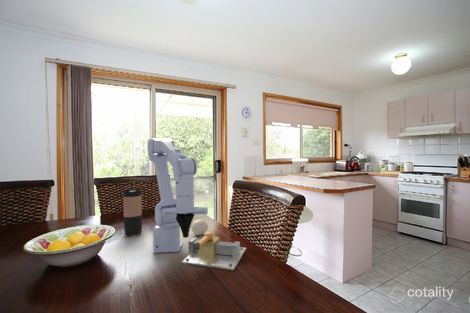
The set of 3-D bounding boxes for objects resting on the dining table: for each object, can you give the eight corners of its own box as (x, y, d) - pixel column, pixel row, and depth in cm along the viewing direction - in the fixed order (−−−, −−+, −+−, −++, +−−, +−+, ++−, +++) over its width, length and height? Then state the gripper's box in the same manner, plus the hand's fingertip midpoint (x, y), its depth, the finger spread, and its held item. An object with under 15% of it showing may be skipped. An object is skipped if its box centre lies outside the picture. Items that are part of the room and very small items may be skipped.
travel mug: (120, 235, 103) (119, 191, 103) (133, 230, 110) (132, 188, 110) (133, 237, 100) (132, 192, 100) (145, 232, 107) (145, 189, 107)
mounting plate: (181, 263, 75) (181, 260, 75) (201, 244, 90) (201, 242, 90) (233, 270, 70) (233, 267, 70) (246, 249, 85) (246, 246, 85)
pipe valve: (187, 253, 81) (187, 240, 81) (194, 247, 87) (194, 235, 87) (236, 258, 76) (236, 245, 76) (240, 251, 82) (240, 239, 82)
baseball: (205, 237, 98) (205, 222, 98) (189, 237, 99) (189, 221, 99) (210, 232, 104) (209, 218, 104) (195, 231, 106) (194, 217, 106)
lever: (206, 236, 84) (206, 231, 84) (214, 237, 83) (214, 232, 83) (190, 250, 72) (190, 244, 72) (199, 251, 71) (199, 245, 71)
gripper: (158, 197, 71) (159, 241, 71) (205, 196, 70) (206, 240, 71) (165, 194, 78) (166, 233, 78) (208, 193, 78) (209, 232, 78)
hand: (185, 236), depth 75 cm, fingers closed
